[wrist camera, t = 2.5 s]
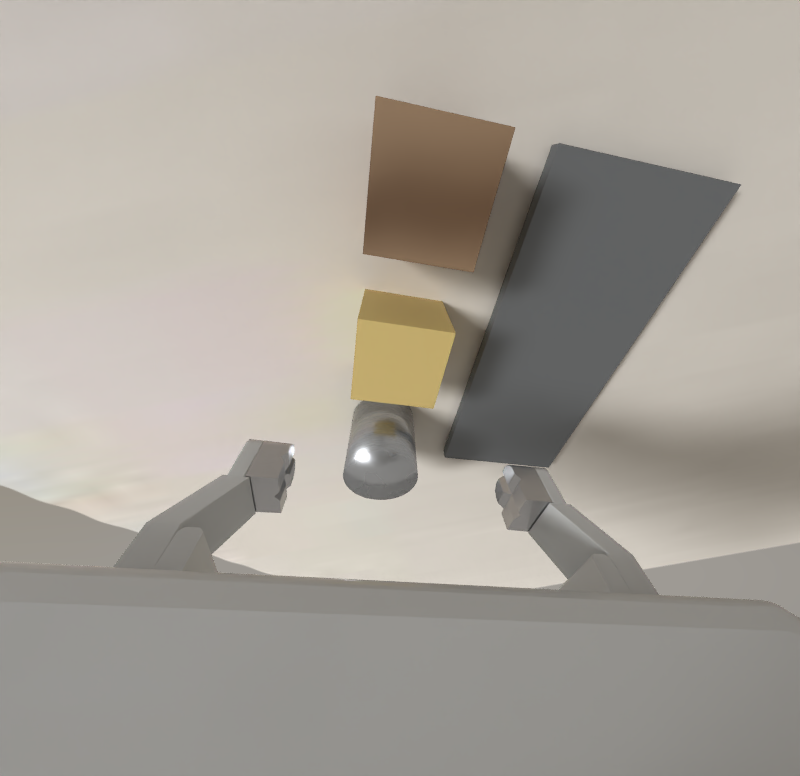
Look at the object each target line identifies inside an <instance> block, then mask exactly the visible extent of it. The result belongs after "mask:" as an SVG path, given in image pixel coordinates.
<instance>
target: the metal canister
mask: <svg viewBox="0 0 800 776" xmlns="http://www.w3.org/2000/svg"><path fill="white" fill-rule="evenodd" d="M343 478H344V482H345V484H346V485H347V487H348V488H349V489H350V490H352V491H353V492H354V493H356V494H358V495H360V496H362V497H365V498H369V499H376V500H386V499H392V498H396V497H399V496H402V495H404V494H406V493H407V492H409V491H410V490H411V489H412V488H413V487H414V486H415V484H416V482H417V478H418V473H417V461H416V449H415V437H414V426H413V415H412V411H411V409H410V407H409V406H406V405H398V404H389V403H381V402H372V401H362V402H360V403H359V404H358V405H357V407H356V408H355V411H354V414H353V420H352V426H351V432H350V437H349V443H348V449H347V455H346V461H345V467H344V473H343Z"/></svg>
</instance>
